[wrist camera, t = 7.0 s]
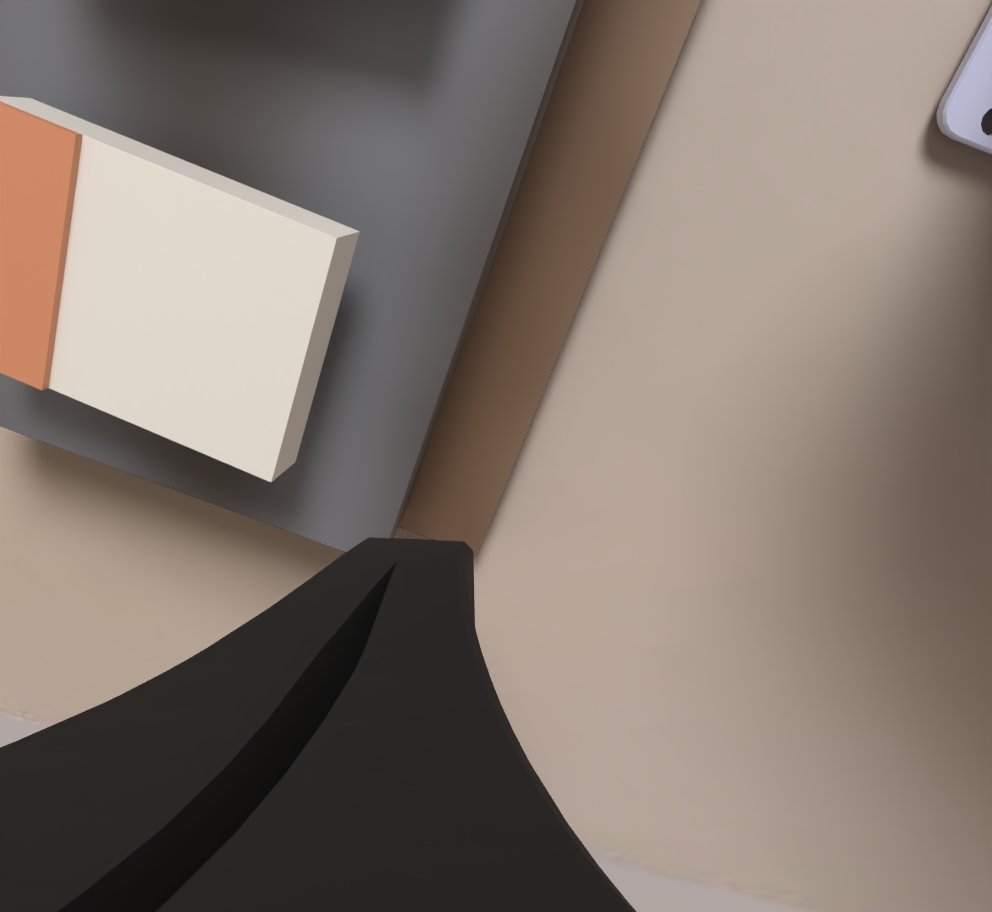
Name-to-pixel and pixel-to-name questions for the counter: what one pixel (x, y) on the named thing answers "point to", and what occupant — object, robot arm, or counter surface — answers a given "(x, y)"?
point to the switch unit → (376, 217)
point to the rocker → (162, 288)
